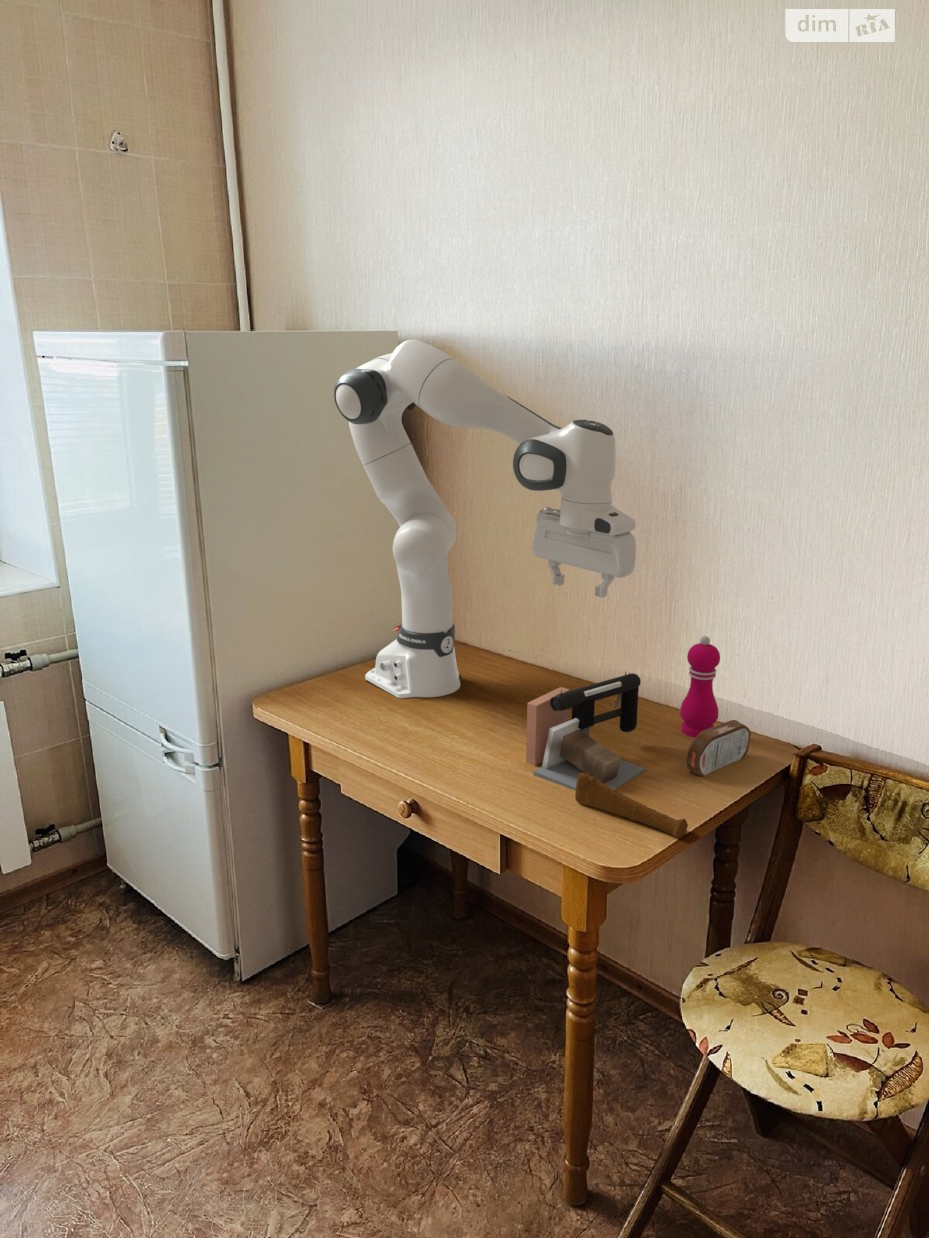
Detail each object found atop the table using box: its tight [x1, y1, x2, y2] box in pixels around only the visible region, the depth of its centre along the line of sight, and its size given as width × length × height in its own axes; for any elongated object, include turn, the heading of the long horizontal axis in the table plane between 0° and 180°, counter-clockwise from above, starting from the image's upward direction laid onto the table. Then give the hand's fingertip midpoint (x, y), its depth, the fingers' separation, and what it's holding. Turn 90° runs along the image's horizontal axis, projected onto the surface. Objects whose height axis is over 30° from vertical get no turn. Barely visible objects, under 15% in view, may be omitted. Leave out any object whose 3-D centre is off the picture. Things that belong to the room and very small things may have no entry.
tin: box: [685, 719, 752, 777], centre depth 164 cm, size 15×3×8 cm, turn 127°
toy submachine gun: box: [550, 671, 641, 737], centre depth 167 cm, size 3×20×16 cm, turn 124°
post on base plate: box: [541, 718, 622, 783], centre depth 162 cm, size 8×10×11 cm
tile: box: [525, 686, 571, 767], centre depth 168 cm, size 2×10×12 cm, turn 138°
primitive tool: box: [574, 773, 689, 839], centre depth 146 cm, size 19×6×4 cm
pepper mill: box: [679, 635, 721, 739], centre depth 176 cm, size 7×7×20 cm
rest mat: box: [533, 759, 646, 791], centre depth 163 cm, size 14×14×1 cm
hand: (578, 590), depth 167 cm, fingers open, 8 cm apart
